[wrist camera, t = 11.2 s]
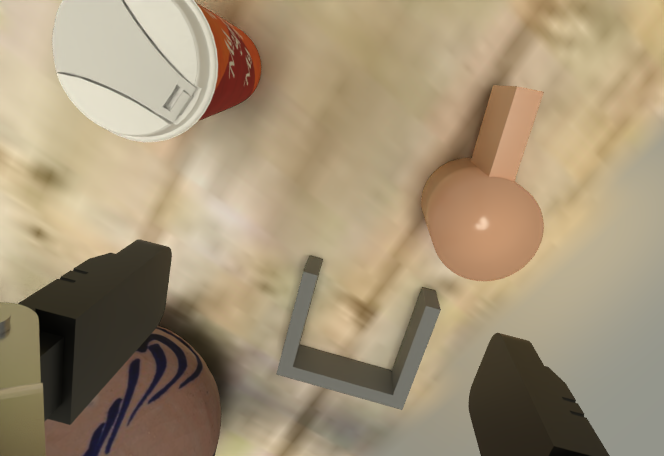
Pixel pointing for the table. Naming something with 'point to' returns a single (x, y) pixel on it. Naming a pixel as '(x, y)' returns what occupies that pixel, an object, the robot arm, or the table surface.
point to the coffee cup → (151, 64)
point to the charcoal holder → (352, 373)
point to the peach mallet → (487, 195)
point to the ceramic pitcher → (147, 407)
